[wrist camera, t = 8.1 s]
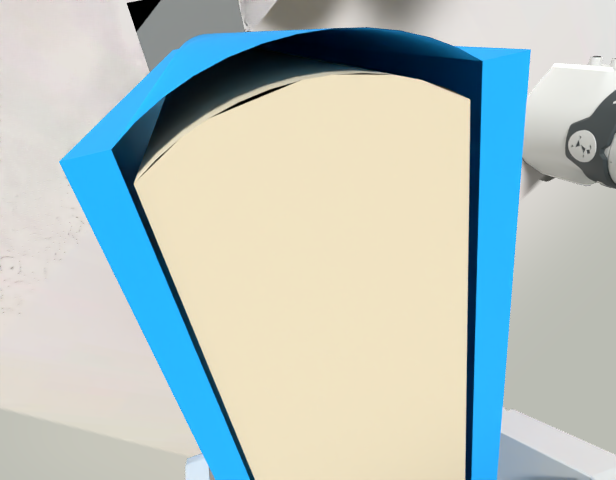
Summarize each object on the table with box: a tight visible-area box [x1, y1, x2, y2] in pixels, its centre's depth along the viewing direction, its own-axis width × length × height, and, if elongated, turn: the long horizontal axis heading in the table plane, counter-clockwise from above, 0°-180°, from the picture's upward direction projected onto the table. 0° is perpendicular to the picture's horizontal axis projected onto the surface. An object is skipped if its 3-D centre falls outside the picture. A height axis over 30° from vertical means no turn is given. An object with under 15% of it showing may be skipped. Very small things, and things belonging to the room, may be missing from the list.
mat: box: [127, 0, 245, 72], centre depth 43 cm, size 10×20×1 cm, turn 10°
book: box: [59, 27, 531, 480], centre depth 18 cm, size 17×4×25 cm, turn 10°
